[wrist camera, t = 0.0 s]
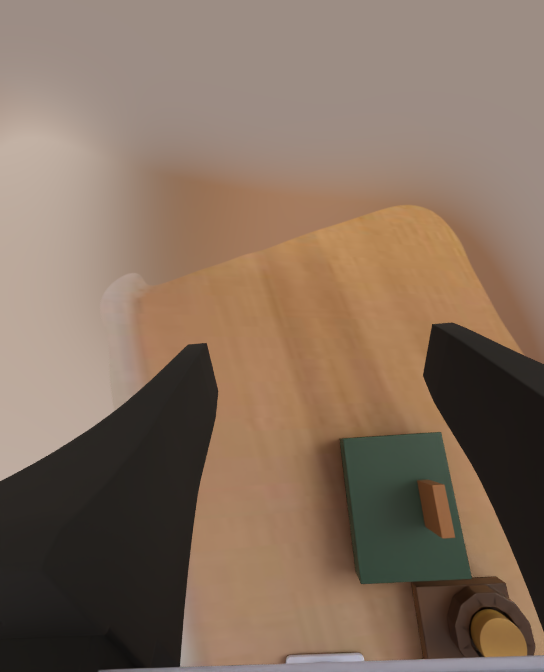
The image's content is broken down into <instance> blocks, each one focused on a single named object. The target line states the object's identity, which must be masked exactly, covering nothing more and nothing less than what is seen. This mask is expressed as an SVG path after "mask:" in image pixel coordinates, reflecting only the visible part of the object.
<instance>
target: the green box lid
mask: <svg viewBox="0 0 544 672" xmlns="http://www.w3.org/2000/svg"><path fill="white" fill-rule="evenodd" d="M343 447H344V455H345V463H346V472H347V480H348V488H349V496H350V504H351V512H352V520H353V528H354V537H355V545H356V553H357V561H358V569H359V577H360V583H361V584H373V583H395V582H418V581H440V580H462V579H472V577H471V572H470V567H469V563H468V558H467V553H466V548H465V544H464V539H463V534H462V529H461V525H460V520H459V515H458V510H457V506H456V501H455V496H454V491H453V487H452V482H451V477H450V472H449V468H448V463H447V458H446V453H445V449H444V444H443V439H442V434H441V432H434V433H419V434H404V435H389V436H374V437H359V438H344V439H343Z"/></svg>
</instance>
